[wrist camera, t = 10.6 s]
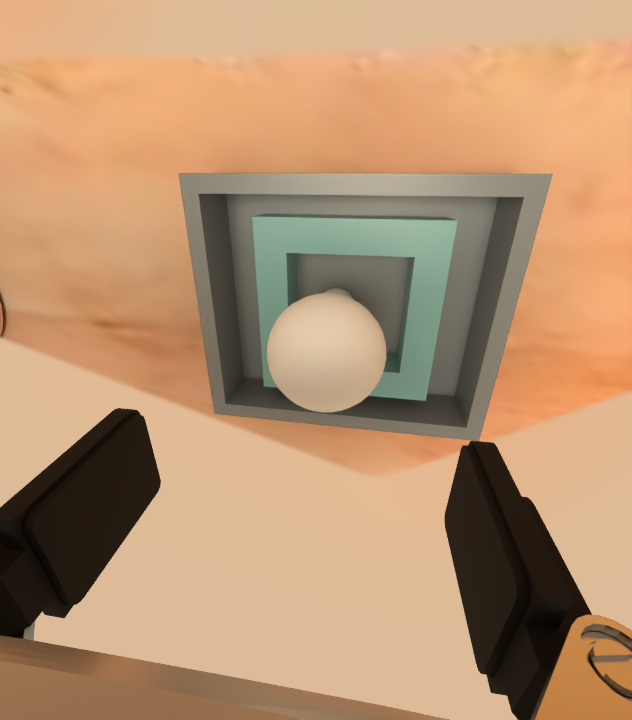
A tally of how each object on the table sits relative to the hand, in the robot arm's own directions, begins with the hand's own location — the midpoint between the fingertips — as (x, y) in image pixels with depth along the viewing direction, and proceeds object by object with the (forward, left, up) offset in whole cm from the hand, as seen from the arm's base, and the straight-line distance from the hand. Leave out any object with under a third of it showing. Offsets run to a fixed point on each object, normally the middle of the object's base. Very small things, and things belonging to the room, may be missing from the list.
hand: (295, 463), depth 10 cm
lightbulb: (0, 0, -17) cm, 17 cm away
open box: (0, 0, -18) cm, 18 cm away
